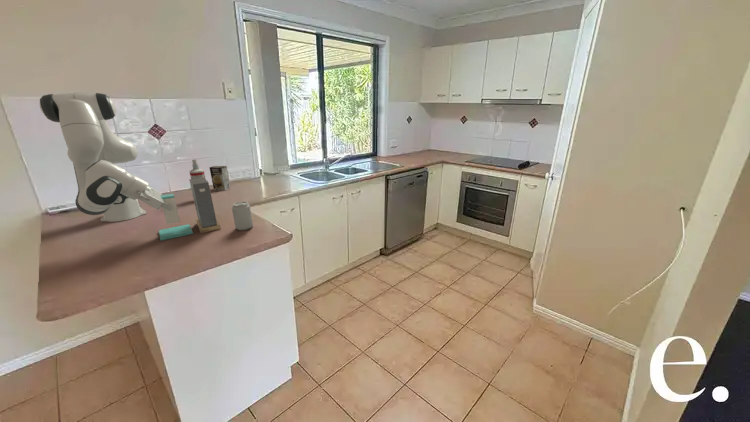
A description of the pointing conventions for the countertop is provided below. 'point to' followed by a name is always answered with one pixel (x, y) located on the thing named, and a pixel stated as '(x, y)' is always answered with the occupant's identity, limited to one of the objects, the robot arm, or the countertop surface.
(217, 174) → the coffee box
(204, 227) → the mounted unit
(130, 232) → the countertop surface
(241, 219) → the can
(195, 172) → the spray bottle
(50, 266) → the countertop surface
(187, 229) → the pad
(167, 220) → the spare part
